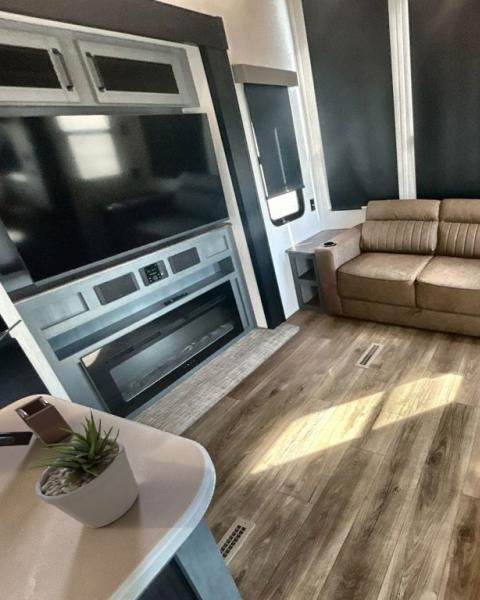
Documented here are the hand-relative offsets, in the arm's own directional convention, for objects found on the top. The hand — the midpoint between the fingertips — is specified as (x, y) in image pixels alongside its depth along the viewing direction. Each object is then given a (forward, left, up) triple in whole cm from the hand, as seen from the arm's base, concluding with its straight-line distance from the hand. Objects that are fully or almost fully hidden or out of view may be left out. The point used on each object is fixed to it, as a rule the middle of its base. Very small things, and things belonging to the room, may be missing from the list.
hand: (29, 438), depth 83 cm
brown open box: (-3, +3, -3) cm, 5 cm away
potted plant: (+28, +21, -4) cm, 35 cm away
